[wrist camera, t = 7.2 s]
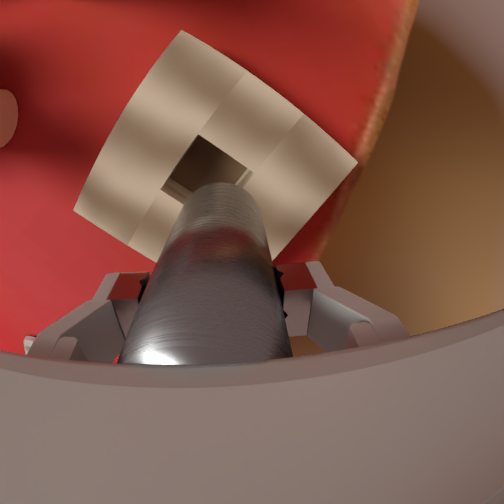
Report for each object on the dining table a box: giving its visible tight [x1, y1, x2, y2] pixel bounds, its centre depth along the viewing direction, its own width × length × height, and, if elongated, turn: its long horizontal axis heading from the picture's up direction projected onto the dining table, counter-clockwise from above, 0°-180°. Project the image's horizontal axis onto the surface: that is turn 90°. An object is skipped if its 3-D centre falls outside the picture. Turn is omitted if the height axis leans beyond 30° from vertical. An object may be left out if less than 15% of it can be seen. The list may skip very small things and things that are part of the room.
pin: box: [117, 183, 293, 365], centre depth 10 cm, size 4×4×10 cm
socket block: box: [73, 30, 358, 263], centre depth 25 cm, size 18×18×5 cm
